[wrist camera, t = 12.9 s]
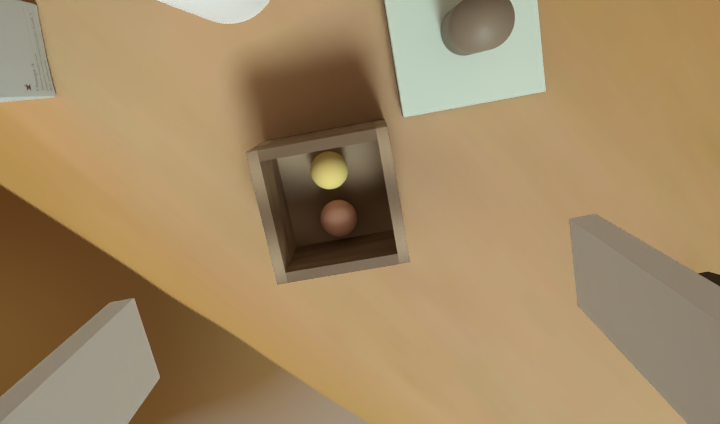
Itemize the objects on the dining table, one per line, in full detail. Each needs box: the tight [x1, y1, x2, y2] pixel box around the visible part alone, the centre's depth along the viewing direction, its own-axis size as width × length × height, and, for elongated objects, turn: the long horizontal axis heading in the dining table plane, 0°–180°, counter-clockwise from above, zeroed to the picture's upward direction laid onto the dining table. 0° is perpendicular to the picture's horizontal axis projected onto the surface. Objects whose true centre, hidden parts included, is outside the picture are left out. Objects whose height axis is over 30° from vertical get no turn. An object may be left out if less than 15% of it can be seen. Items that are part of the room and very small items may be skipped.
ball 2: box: [320, 200, 357, 237], centre depth 42 cm, size 3×3×3 cm
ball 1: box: [310, 151, 348, 189], centre depth 41 cm, size 3×3×3 cm
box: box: [246, 119, 410, 284], centre depth 40 cm, size 10×10×7 cm
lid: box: [384, 0, 546, 117], centre depth 36 cm, size 11×11×8 cm
